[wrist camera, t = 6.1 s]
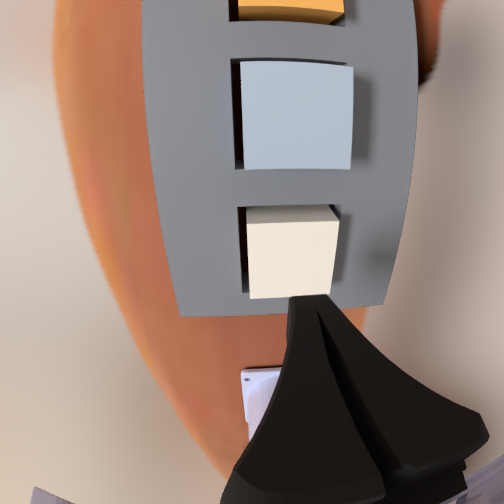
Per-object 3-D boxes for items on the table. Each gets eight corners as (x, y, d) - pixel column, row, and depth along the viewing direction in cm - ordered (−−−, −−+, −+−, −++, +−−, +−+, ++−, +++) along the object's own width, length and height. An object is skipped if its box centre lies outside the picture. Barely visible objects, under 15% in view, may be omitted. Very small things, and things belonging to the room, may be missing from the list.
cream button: (318, 267, 16) (329, 294, 14) (248, 270, 16) (249, 298, 14) (324, 200, 14) (339, 221, 12) (245, 202, 14) (246, 224, 12)
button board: (371, 284, 18) (382, 304, 16) (185, 294, 18) (180, 316, 16) (385, -44, 7) (401, -56, 5) (157, -54, 7) (147, -69, 5)
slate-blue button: (331, 155, 12) (350, 169, 10) (244, 156, 12) (244, 169, 10) (332, 71, 10) (353, 67, 8) (240, 68, 10) (240, 61, 8)
